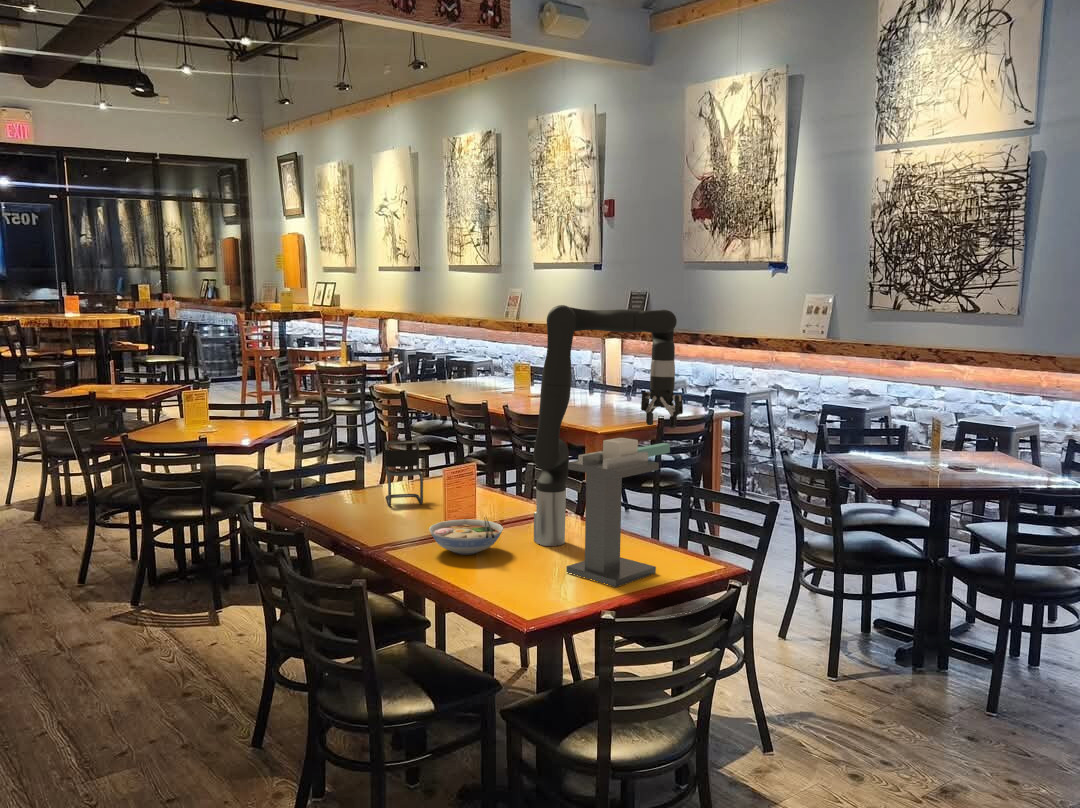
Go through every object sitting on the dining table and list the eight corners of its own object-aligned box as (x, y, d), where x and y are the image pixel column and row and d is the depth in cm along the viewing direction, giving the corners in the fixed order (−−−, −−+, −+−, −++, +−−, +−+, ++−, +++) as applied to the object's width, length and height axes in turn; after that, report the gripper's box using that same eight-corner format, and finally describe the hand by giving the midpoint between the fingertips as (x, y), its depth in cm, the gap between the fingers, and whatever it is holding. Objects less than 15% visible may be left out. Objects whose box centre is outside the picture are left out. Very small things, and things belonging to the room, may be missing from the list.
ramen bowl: (429, 541, 292) (429, 516, 291) (501, 540, 294) (501, 515, 293) (427, 564, 267) (427, 536, 266) (505, 563, 270) (505, 535, 269)
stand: (566, 573, 260) (568, 453, 256) (606, 560, 273) (609, 446, 269) (615, 587, 248) (618, 462, 244) (655, 573, 261) (658, 454, 257)
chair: (418, 495, 357) (418, 439, 354) (423, 505, 340) (423, 447, 338) (384, 497, 354) (384, 440, 351) (388, 507, 337) (387, 448, 335)
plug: (602, 461, 258) (603, 440, 257) (658, 450, 277) (658, 431, 276) (619, 464, 254) (619, 443, 253) (674, 453, 273) (675, 433, 272)
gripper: (636, 373, 286) (635, 425, 288) (674, 376, 276) (672, 430, 278) (651, 372, 291) (650, 423, 293) (688, 375, 281) (687, 427, 283)
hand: (661, 426), depth 285 cm, fingers open, 8 cm apart
